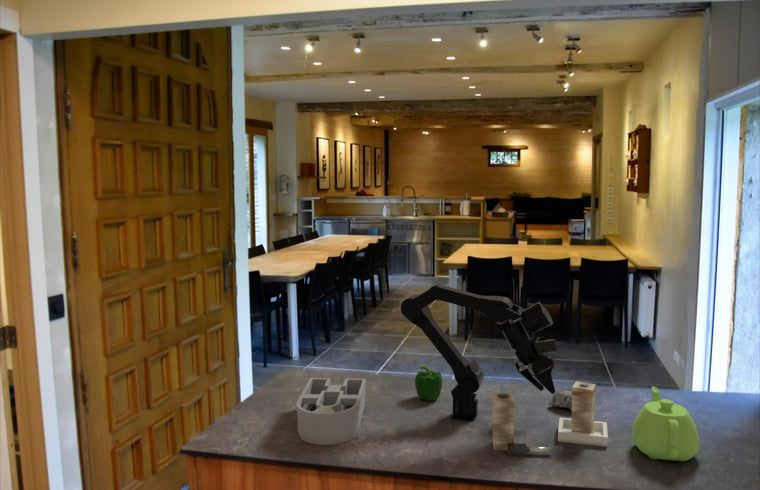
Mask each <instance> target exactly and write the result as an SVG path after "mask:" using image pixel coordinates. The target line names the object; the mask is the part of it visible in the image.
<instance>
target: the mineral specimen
mask: <svg viewBox="0 0 760 490" xmlns="http://www.w3.org/2000/svg"><path fill="white" fill-rule="evenodd" d="M548 405H549V406H551V408H556V407H560V408H564V409H566V408H568V409H569V410H570V411H571V412H572V390H568V391H566V390H564V391H560V392H559V391H558V392H555V393H554V394H552V397H551V398H550V400H549V401H548Z"/></svg>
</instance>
